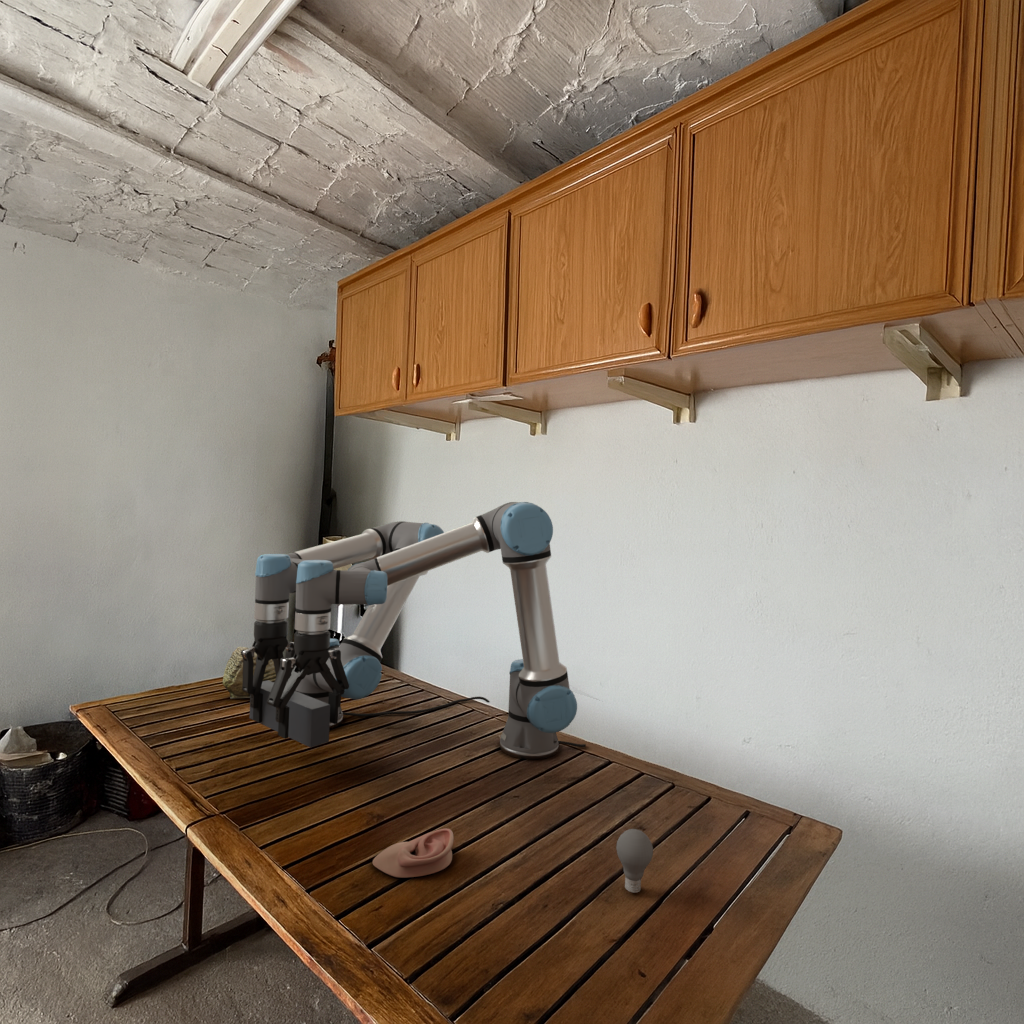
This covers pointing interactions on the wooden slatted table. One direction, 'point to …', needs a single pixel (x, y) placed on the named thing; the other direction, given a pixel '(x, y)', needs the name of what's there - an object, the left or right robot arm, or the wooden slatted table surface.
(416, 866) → the anatomical model
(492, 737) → the wooden slatted table surface
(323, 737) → the bar
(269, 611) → the left robot arm
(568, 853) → the wooden slatted table surface
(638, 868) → the light bulb
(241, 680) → the fossil
